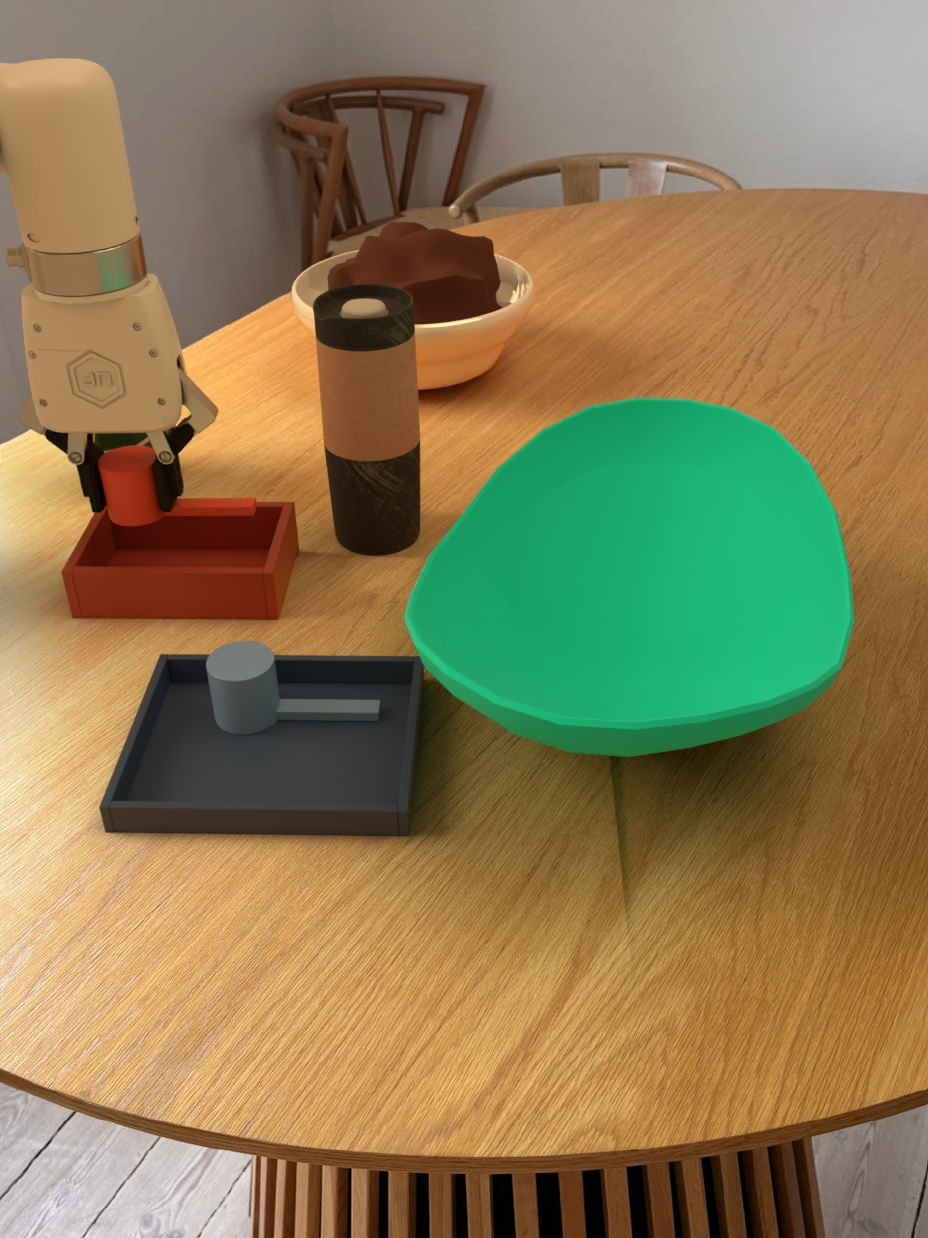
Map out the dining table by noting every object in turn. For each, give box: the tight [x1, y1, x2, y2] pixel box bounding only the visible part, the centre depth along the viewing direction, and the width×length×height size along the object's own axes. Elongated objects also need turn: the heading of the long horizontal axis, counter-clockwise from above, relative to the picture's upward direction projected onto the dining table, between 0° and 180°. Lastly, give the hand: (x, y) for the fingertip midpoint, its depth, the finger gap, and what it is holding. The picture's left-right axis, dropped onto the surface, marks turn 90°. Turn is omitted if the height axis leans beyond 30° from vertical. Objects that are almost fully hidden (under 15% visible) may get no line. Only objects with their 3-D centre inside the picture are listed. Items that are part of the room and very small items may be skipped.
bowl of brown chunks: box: [289, 221, 536, 391], centre depth 125 cm, size 25×25×15 cm
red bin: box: [60, 501, 300, 621], centre depth 94 cm, size 16×11×4 cm
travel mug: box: [313, 284, 421, 556], centre depth 96 cm, size 8×8×20 cm
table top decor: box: [403, 396, 855, 758], centre depth 79 cm, size 40×28×13 cm
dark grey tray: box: [98, 653, 425, 838], centre depth 78 cm, size 18×15×2 cm
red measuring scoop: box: [98, 445, 257, 526], centre depth 90 cm, size 11×4×4 cm, turn 88°
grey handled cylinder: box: [206, 640, 381, 735], centre depth 80 cm, size 11×4×4 cm, turn 88°
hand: (136, 501), depth 91 cm, fingers closed on red measuring scoop, 4 cm apart
